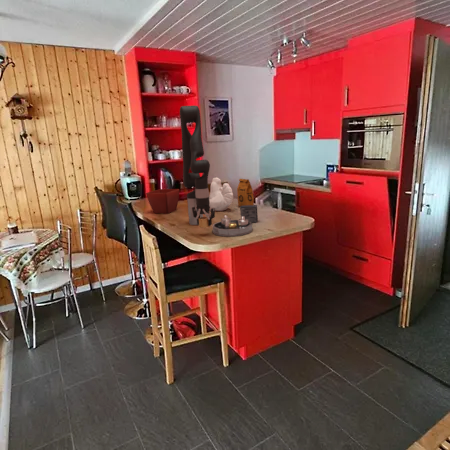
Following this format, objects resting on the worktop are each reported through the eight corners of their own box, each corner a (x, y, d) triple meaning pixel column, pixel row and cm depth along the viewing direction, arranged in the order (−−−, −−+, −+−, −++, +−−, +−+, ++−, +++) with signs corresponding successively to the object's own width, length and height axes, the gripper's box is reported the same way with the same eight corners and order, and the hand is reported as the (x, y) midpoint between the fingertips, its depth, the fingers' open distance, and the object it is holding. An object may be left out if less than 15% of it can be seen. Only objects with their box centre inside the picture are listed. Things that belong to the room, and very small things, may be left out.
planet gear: (197, 226, 195) (196, 217, 193) (206, 224, 198) (206, 216, 196) (202, 228, 190) (202, 219, 188) (212, 226, 193) (211, 217, 191)
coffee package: (245, 209, 258) (244, 180, 253) (236, 206, 269) (234, 179, 263) (256, 207, 263) (254, 178, 258) (246, 205, 274) (245, 177, 268)
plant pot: (147, 214, 262) (145, 192, 258) (162, 209, 279) (159, 188, 275) (168, 215, 255) (166, 192, 250) (181, 209, 271) (179, 188, 267)
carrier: (205, 231, 203) (204, 217, 201) (237, 224, 214) (236, 211, 212) (226, 239, 184) (225, 224, 182) (260, 231, 195) (259, 217, 193)
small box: (258, 220, 221) (257, 204, 218) (257, 222, 215) (256, 206, 212) (241, 220, 223) (241, 205, 220) (240, 223, 216) (239, 207, 214)
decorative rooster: (205, 209, 266) (203, 177, 260) (223, 206, 272) (221, 175, 266) (219, 215, 244) (216, 180, 238) (238, 211, 250) (236, 178, 244)
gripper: (216, 195, 189) (218, 224, 193) (195, 194, 195) (197, 222, 200) (210, 198, 182) (212, 228, 187) (187, 197, 189) (190, 226, 193)
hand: (204, 225), depth 193 cm, fingers closed on planet gear, 6 cm apart
